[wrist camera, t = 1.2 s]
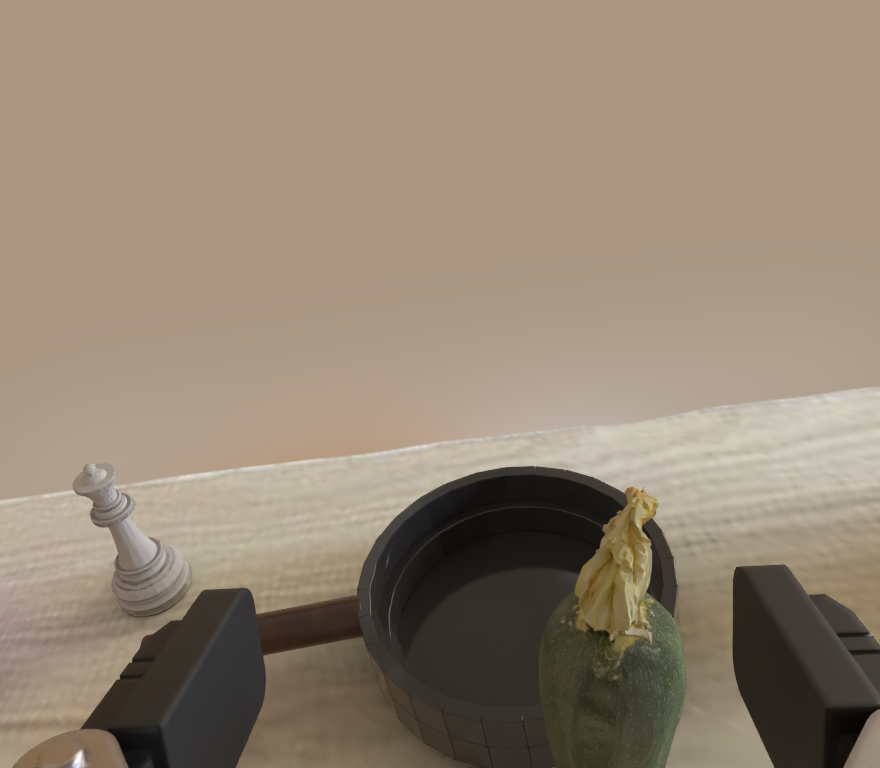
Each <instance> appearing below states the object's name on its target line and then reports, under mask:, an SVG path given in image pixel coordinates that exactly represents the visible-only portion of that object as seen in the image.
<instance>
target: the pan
mask: <svg viewBox="0 0 880 768" xmlns="http://www.w3.org/2000/svg"><path fill="white" fill-rule="evenodd" d="M627 505H628V502H627V496H626V494H624V493H623V492H621V491H620V490H618V489H616V488H614V487H612V486H610V485H608V484H606V483H604V482H602V481H600V480H598V479H594V478H593V477H590V476H586V475H583V474H579V473H576V472H572V471H569V470H563V469H555V468H546V467H537V466H536V467H535V466H526V467H505V468H499V469H493V470H488V471H483V472H478V473H474V474H471V475H469V476H466V477H463V478H460V479H457V480H455V481H452V482H449V483H447V484H444V485H442V486H440V487H439V488H437V489H435V490H433V491H431V492H429V493H428V494H426V495H424V496H422V497H420V499H418V500H416V501H415V502H414V503H413V504H411V505H410V506H409V507H408V508H406V509H405V510H404V511H403V512H401V513H400V514H399V515H398V516H397V517H395V519H394V520H393V521H392V522H391V523H390V524H389V526H388V527H387V528H386V529H385V530H384V531H383V533H382V534H381V535H380V536H379V537H378V539H377V540H376V542H375V544H374V545H373V547H372V549H371V551H370V553H369V555H368V557H367V558H366V560H365V562H364V565H363V569H362V573H361V576H360V580H359V584H358V588H357V596H360V598H361V609H360V610H359V611H358V613H357V618H358V623H359V626H360V629H361V633H362V636H363V639H364V642H365V646H366V648H367V651H368V654H369V657H370V659H371V662H372V665H373V668H374V670H375V673H376V676H377V679H378V681H379V684H380V687H381V690H382V692H383V694H384V696H385V698H386V699H387V701H388V702H389V704H390V706H391V707H392V709H393V710H394V712H395V713H396V715H397V717H398V718H399V719H400V720H401V722H402V723H403V724H405V725H406V726H407V727H408V728H409V729H410V730H411V731H412V732H413V733H414V734H415V735H417V736H418V737H419V738H420V739H421V740H422V741H423V742H425V743H426V744H427V745H429V746H431V747H433V748H435V749H436V750H438V751H440V752H442V753H444V754H446V755H448V756H450V757H451V758H453V759H455V760H458V761H462V762H466V763H470V764H473V765H477V766H481V767H485V768H552V767H555V766H554V761H553V755H552V751H551V748H550V744H549V741H548V737H547V732H546V726H545V720H544V713H543V708H542V702H541V696H540V687H539V650H540V644H541V640H542V636H543V633H544V630H545V628H546V626H547V623H548V620H549V618H550V616H551V614H552V613H553V611H554V610H555V608H556V607H557V606H558V604H559V603H560V602H561V601H562V600H563V599H564V598H565V597H566V596H567V595H569V594H570V593H571V592H572V591H574V590H575V587H576V583H577V580H578V578H579V575H580V572H581V569H582V567H583V566H584V565H585V564H586V563H587V562H588V561H589V560H590V559H591V558H593V557H594V555H595V554H596V550H598V549H600V544H601V540H602V538H603V537H604V536H605V535H606V534H605V533H604V532H603V530H602V529H603V526H604V524H608V523H609V521H610V519H611V518H613V517H615V516H617V515H618V514H617V512H618V511H623V509H624V508H625V507H626V506H627ZM642 531H643V532H644V533H645V535H646V536H647V538H648V539H650V540H651V542H650V543H651V546H650V548H651V550H652V571H651V576H650V582H649V586H648V588H647V590H646V592H647V593H648V594H649V595H651V596H652V597H653V598H655V599H656V600H657V601H658V602H659V603H660V604H661V605H662V606H663V607H664V608H665V609H666V610H667V611H668V612H669V613H670V614H671V615H672V617H673V619H674V621H675V622H676V624H677V626H678V614H679V586H678V578H677V571H676V564H675V559H674V555H673V553H672V551H671V549H670V547H669V544H668V542H667V540H666V538H665V535H664V533H663V532H662V530H661V529H660V527H659V526H658V525H657V524H656V523H655V521H654V520H653V519H652V518H651V519H650V520H648V521H647V522H646V523H644V524H643V525H642Z"/></svg>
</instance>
